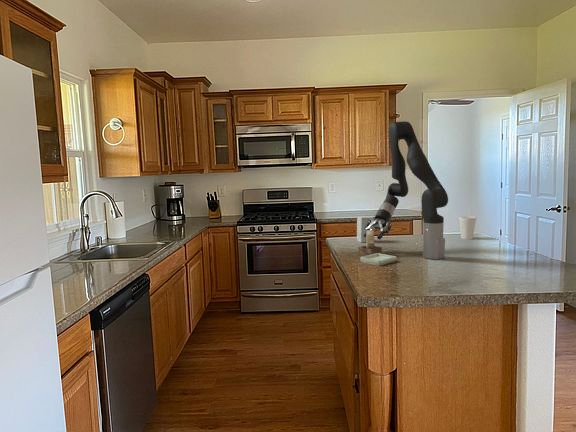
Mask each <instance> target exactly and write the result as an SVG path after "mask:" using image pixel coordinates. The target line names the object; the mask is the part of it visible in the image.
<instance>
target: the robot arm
mask: <svg viewBox="0 0 576 432" xmlns="http://www.w3.org/2000/svg"><path fill="white" fill-rule="evenodd" d="M388 138H389V139H388V141H389V148H390V155H391V178H392V179H393V180H396V181H397V182H398V183H396V182H393V183H390V184H389V185H388V188H387V192H386V197H385V199H384V201H383V203H382V204H381V205H380V207H379V209H378V210H377V212H376V214H375V216H374V220H373V221H371V220H370V219H369V220H368V221H367V223H366V224H365V226H364V229H365V232H364V234H363V235H364V237H366V231H367V230H374V231H375V230H379V233H378V234H377V237H376V238H377V240H381V239H382V238H383V236H384V235H385V234H387V235H388V234H389V233H390V230H391V229H392V226H393V225H392V223H391V221H390V220H391V218H392V217H393V215H394V213H395V210H396V209H397V206H398V205H399V202H400V201H399V197H400V198H405V197H406V196H407V195H408V193H409V185H408V181H407V176H406V166H407V165H408V167H409V170H410V171H411V173H412V174H413V176H415V177H416V178H417V179H418V180H420V181H421V183H423V184H424V185H425V186H426V188H427V189H426V190H424V191H423V193H422V195H421V201H420V202H421V217H422V220H423V221H422V222H423V223H422V258H423V259H428V260H441V259H445V256H446V255H445V254H446V252H445V251H446V249H445V248H446V238H444V223H445V222H444V219H445V218H444V216H442V215H440V214H439V213H438V209H439V208H445V207H446V206H447V205H448V203H449V196H448V193H447V191H446V189H445V188H444V186H443V185H442V183H441V182H440V181H439V179H438V177H437V175H436V174H435V172H434V170H433V169H432V167H431V165H430V163H429V160H428V158H427V156H426V155H425V153H424V151H423V149H422V147H421V145H420V143H419V141H418V138H417V136H416V133H415V131H414V127H413V125H412V124H411V123H410V122H409V121H393V122H390V124H389V126H388ZM400 140H404V141H405V143H406V145H407V154H406V160H405V157H404V155H403V154H402V151H401V149H400V146H399V141H400ZM406 163H407V165H406ZM372 226H373V228H372ZM369 228H370V229H369Z"/></svg>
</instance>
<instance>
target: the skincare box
mask: <svg viewBox="0 0 576 432" xmlns="http://www.w3.org/2000/svg"><path fill="white" fill-rule="evenodd" d="M369 219H370V220H371V221H373V220H374V219H375V216H374V217H373V216H357V219H356V241H357V242H359V243H366V237H364V235H363V234H364V232H365V229H364V226H365V224H366V223H367V221H368V220H369ZM372 228H373V226H372ZM369 229H370V228H369Z"/></svg>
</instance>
